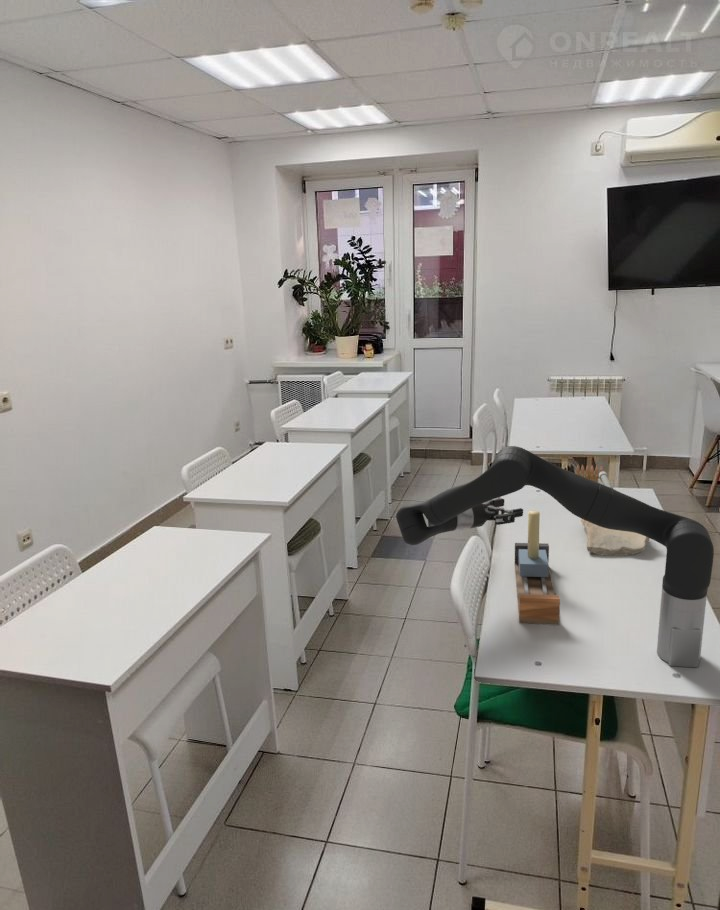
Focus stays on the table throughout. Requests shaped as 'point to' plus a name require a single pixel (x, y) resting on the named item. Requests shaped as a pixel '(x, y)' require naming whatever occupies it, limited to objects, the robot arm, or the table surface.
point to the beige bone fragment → (613, 540)
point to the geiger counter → (604, 479)
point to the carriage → (533, 551)
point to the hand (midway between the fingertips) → (512, 506)
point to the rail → (536, 594)
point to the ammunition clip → (592, 476)
